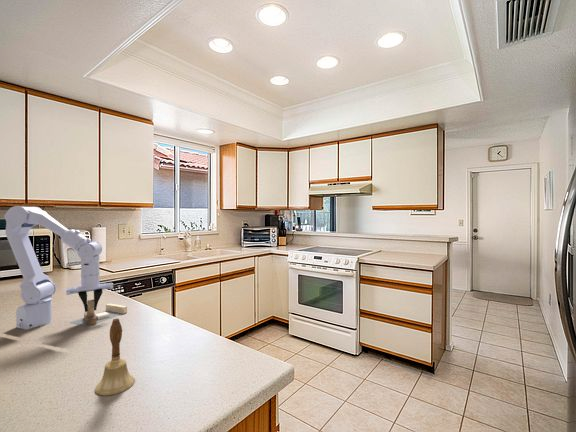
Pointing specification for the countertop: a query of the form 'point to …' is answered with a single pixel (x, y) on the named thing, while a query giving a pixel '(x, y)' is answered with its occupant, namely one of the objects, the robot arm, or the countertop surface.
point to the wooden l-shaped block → (90, 313)
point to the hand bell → (115, 367)
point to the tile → (102, 315)
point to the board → (110, 308)
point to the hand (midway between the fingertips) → (90, 310)
